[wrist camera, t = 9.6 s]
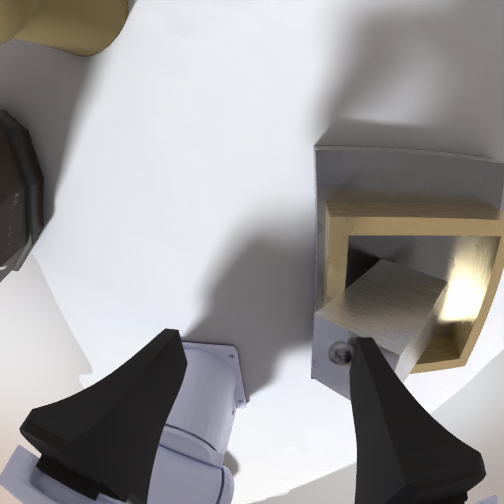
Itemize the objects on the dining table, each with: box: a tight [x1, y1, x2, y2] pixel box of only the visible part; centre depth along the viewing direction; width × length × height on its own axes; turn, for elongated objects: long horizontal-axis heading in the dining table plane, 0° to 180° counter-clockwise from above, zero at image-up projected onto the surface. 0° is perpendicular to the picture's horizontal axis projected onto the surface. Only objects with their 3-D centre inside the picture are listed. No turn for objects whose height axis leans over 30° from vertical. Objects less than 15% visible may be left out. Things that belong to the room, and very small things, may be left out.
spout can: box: [311, 259, 448, 400], centre depth 15 cm, size 5×5×8 cm
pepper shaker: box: [0, 0, 128, 57], centre depth 10 cm, size 6×6×11 cm
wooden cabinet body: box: [311, 146, 504, 379], centre depth 18 cm, size 18×13×4 cm
